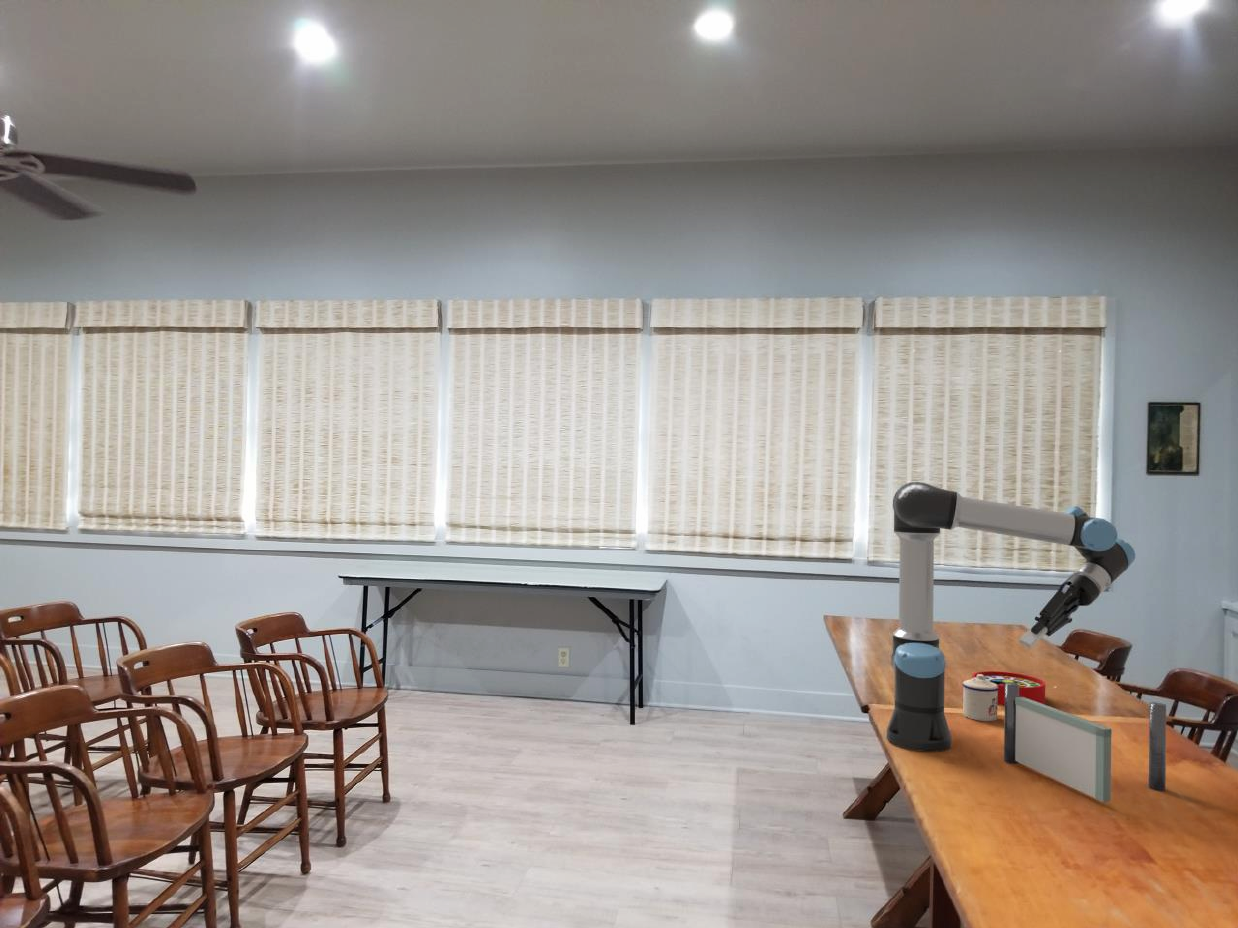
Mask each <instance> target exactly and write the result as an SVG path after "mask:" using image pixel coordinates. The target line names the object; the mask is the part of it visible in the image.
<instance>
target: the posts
mask: <svg viewBox="0 0 1238 928" xmlns="http://www.w3.org/2000/svg"><path fill="white" fill-rule="evenodd" d="M1015 697H1019V684H1016V683H1010V682H1007V683H1005V705H1004V721H1003V723H1004V724H1003V725H1004V729H1003V732H1004V733H1003V734H1004V735H1003V741H1004V742H1003V761H1004V762H1005V763H1008V764H1012V765H1013V764H1015V765H1017V764H1019V762H1017V761H1015V744H1016V704H1015ZM1148 708H1149V709H1148V710H1149V715H1148V716H1149V718H1148V719H1149V720H1148V722H1149V723H1148V724H1149V725H1148V738H1149V739H1148V788H1149V789H1151V790H1154V791H1159V792H1165V791H1166V783H1167V782H1166V781H1167V780H1166V777H1167V776H1166V775H1167V774H1166V772H1167V771H1166V769H1167V704H1166V703H1162V702H1158V701H1157V702H1156V701H1155V702H1154V701H1152V702H1151V701H1150V702H1149V707H1148Z"/></svg>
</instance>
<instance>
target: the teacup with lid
mask: <svg viewBox="0 0 1238 928" xmlns="http://www.w3.org/2000/svg"><path fill="white" fill-rule="evenodd" d="M962 686H963V690H962V691H963V697H962V698H963V699H962V701H963V706H962V707H963V708H962V714H963V716H964V717H965V718H967V717H968V719H970V720H973V719H974V721H978V722H979V721H980V722H993V721H996V720H997V719H998V704H997V692H998V689H999V688H998V686H997V685H996V684H995V683H992V682H990V681H989V680H987V679H985V678H984V675H982V674H977V677H976V678H972V677H971V679H967V680H964V681H963V682H962Z"/></svg>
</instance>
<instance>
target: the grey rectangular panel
mask: <svg viewBox="0 0 1238 928" xmlns="http://www.w3.org/2000/svg"><path fill="white" fill-rule="evenodd" d="M1015 704H1016V744H1015V761H1017V762H1018V764H1021V765H1024V766H1026V767H1028V768H1030V769H1032V770H1034V771H1036V772H1038V773H1041V774H1043V775H1045V776H1047V777H1050V778H1052V779H1053V780H1055V781H1057V782H1060V783H1062V784H1064V785H1066V786H1069V787H1070V788H1073V789H1074V790H1076V791H1079V792H1081V793H1083V794H1085V795H1088V796H1090V797H1092V798H1093V799H1096V800H1097V801H1099V802H1102V803H1107V802H1112V801H1111V799H1112V728H1110V727H1107V726H1105V725H1101V724H1099V723H1096V722H1094V721H1090V720H1088V719H1085V718H1082V717H1079V716H1077V715H1074V714H1071V713H1068V712H1066V711H1063V710H1060V709H1058V708H1054V707H1052V706H1049V705H1047V704H1041V703H1039V702H1036V701H1033V700H1030V699H1027V698H1025V697H1015Z"/></svg>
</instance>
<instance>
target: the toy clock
mask: <svg viewBox="0 0 1238 928" xmlns="http://www.w3.org/2000/svg"><path fill="white" fill-rule="evenodd" d="M977 674H982V675H984V678H985V679H987V680H989V681H990V682H992V683H995V684H996V685H997V686H998V688H999V689H998V692H997V705H999V706H1001V705H1002V706H1005V683H1007V682H1010V683H1016V684H1019V697H1025V698H1027V699H1030V700H1033V701H1036V702H1039V703H1041V704H1044V705H1046V682H1045V681H1044V680H1042V679H1040V678H1038V677H1034V676H1031V675H1027V674H1023V673H1017V672H1009V671H1000V670H983V671H982V670H981V671H975V672H974V673H973V674H972V676H971V679H972V678H976V677H977Z"/></svg>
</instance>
